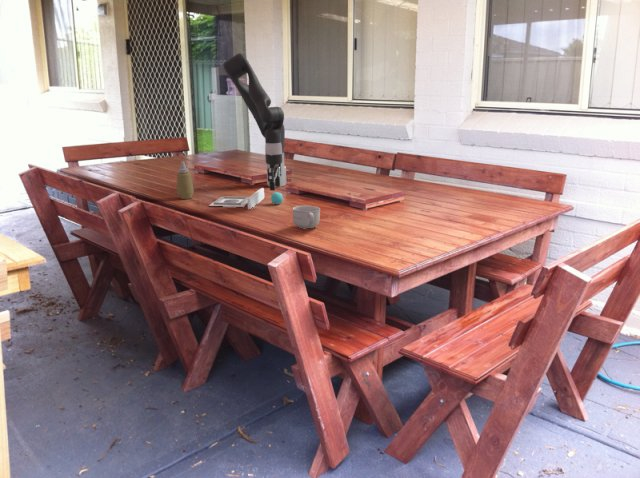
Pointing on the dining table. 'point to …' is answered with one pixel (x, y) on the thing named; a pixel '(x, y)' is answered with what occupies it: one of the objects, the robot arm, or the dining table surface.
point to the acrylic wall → (255, 198)
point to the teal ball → (276, 198)
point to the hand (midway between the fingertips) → (275, 188)
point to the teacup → (306, 216)
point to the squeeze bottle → (184, 183)
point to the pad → (230, 201)
